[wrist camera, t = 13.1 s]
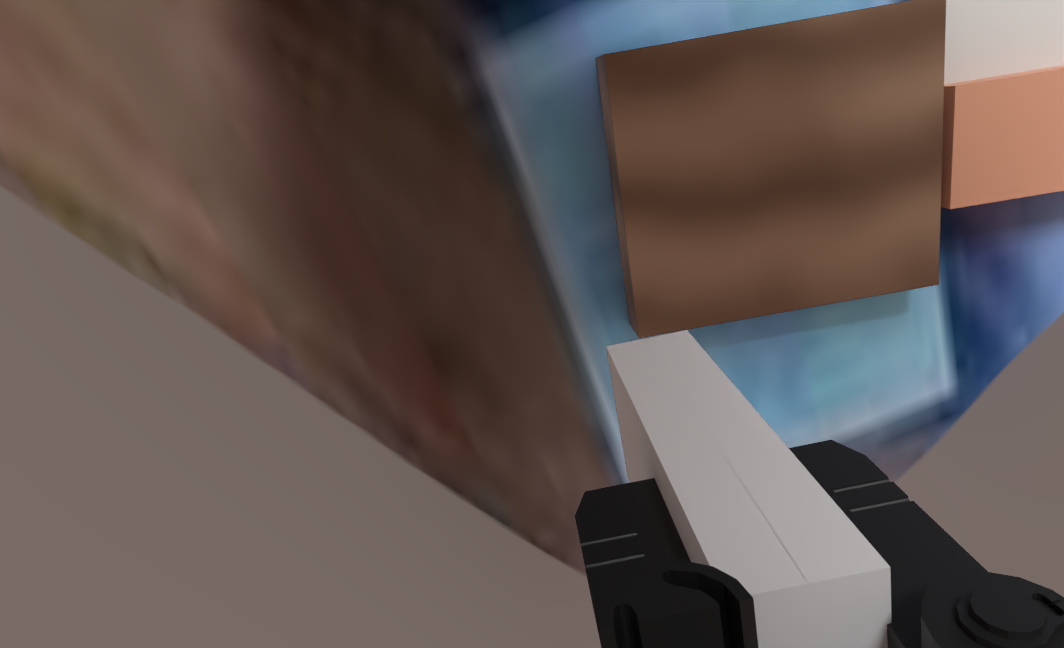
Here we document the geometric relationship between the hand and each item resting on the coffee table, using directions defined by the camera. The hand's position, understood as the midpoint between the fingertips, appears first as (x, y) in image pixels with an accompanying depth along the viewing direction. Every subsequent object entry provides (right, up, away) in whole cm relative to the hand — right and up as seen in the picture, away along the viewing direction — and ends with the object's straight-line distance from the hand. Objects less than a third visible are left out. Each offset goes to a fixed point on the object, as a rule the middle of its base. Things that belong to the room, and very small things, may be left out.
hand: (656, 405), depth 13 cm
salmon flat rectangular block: (+23, +12, +23) cm, 34 cm away
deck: (+10, +10, +23) cm, 27 cm away
